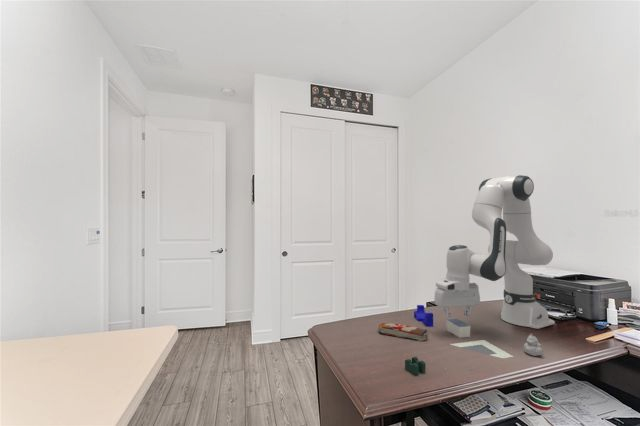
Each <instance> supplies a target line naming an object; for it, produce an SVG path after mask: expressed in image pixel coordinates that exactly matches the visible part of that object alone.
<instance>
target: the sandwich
mask: <svg viewBox="0 0 640 426" xmlns="http://www.w3.org/2000/svg"><path fill="white" fill-rule="evenodd" d="M378 332H379V333H381V334H383V335H387V336H390V335H391V337H398V338H404V339H409V340H413V341H418V342H419V341H420V342H424V341H427V340H428V337H429V334H428V330H427V329H423V328H419V327H416V326H411V325H405V324H402V323H401V324H400V323H399V324H398V323H393V322H392V323H387V322H385V323H380V324H379V325H378Z"/></svg>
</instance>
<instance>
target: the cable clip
mask: <svg viewBox="0 0 640 426" xmlns="http://www.w3.org/2000/svg"><path fill="white" fill-rule="evenodd" d="M414 317H415V318H414ZM413 318H414V319H415V320H416V321H417V322H418V321H419V322H421V323H422V324H423V325H424V326H426V327H430V328H431V327H432V328H433V327H434V313H432V312H426V311H425V305H423V304H417V305H416V310H414V311H413Z"/></svg>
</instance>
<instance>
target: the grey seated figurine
mask: <svg viewBox="0 0 640 426" xmlns="http://www.w3.org/2000/svg"><path fill="white" fill-rule="evenodd" d="M523 349H524V352H525V353H526V354H527V355H529V354H530V355H529V356H532V357H533V356H534V357H538V356H542V355H543V348H542V344H541V343H540V342H539V340H538V338H537V336H535V335H533V333H530V334H529V335H528V336H527V339H526V342H525V343H524V344H523Z"/></svg>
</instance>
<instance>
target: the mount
mask: <svg viewBox="0 0 640 426" xmlns="http://www.w3.org/2000/svg"><path fill="white" fill-rule="evenodd" d="M404 369H405V370H406V371H408V372H409V373H411V374H413V375H414V376H415V377H416V376H419V375H422V374H425V373H426V362H425V361H424V360H419V358H418V357H417V356H413V357H412V356H411V359H410V358H407V359H405V360H404Z"/></svg>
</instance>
